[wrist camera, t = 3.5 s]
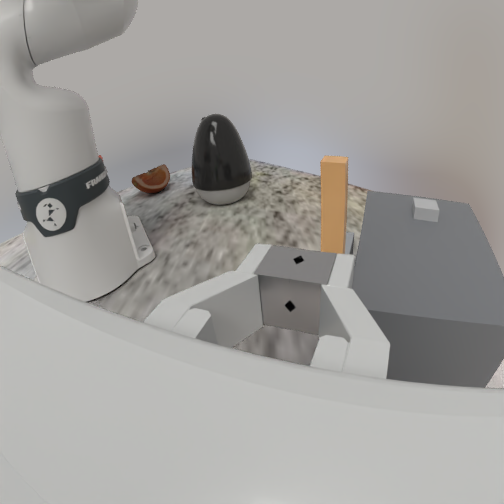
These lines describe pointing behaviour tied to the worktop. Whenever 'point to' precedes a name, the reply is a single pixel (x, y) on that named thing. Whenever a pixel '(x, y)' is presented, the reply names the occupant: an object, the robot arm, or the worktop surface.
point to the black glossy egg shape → (219, 161)
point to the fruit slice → (152, 180)
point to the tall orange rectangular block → (335, 206)
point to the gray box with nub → (431, 289)
